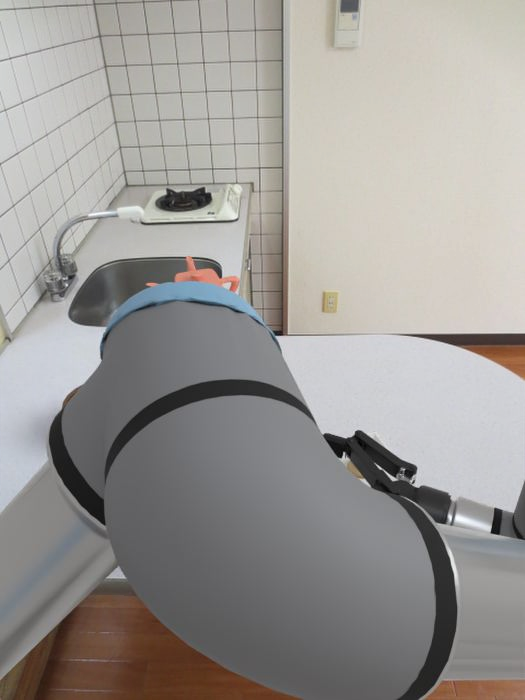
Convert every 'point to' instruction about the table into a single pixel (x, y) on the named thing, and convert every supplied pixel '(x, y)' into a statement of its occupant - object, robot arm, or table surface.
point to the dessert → (354, 470)
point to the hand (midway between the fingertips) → (277, 469)
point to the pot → (203, 276)
